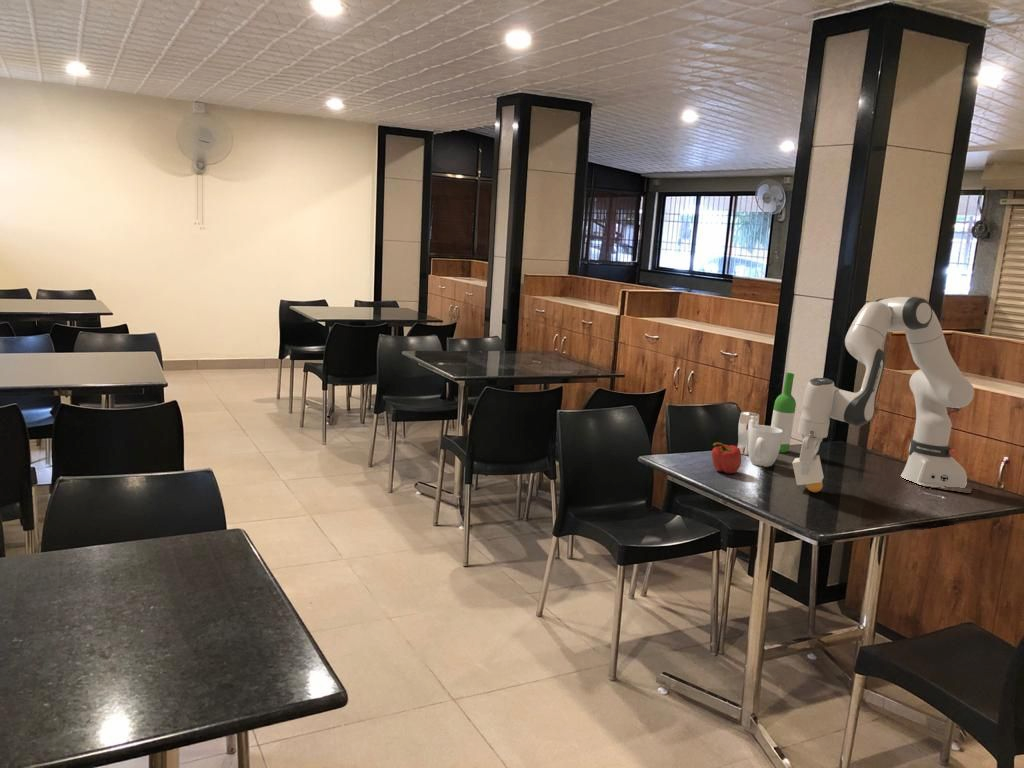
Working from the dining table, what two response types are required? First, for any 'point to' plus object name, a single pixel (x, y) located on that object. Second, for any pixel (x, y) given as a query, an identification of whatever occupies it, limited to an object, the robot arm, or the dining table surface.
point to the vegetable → (726, 458)
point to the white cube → (813, 472)
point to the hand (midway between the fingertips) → (806, 471)
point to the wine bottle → (785, 413)
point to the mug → (764, 444)
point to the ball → (815, 486)
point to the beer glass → (746, 430)
